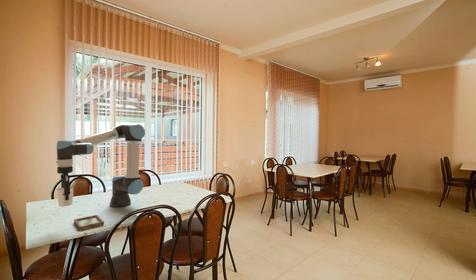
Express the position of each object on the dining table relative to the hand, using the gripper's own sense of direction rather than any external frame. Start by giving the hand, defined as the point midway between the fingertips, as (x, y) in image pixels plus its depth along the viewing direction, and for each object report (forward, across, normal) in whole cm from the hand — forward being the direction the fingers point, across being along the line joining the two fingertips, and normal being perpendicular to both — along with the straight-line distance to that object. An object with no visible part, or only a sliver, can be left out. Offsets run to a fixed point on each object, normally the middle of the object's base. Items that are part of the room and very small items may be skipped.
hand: (65, 203), depth 144 cm
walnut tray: (+15, +2, +11) cm, 19 cm away
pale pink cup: (+1, 0, 0) cm, 1 cm away
